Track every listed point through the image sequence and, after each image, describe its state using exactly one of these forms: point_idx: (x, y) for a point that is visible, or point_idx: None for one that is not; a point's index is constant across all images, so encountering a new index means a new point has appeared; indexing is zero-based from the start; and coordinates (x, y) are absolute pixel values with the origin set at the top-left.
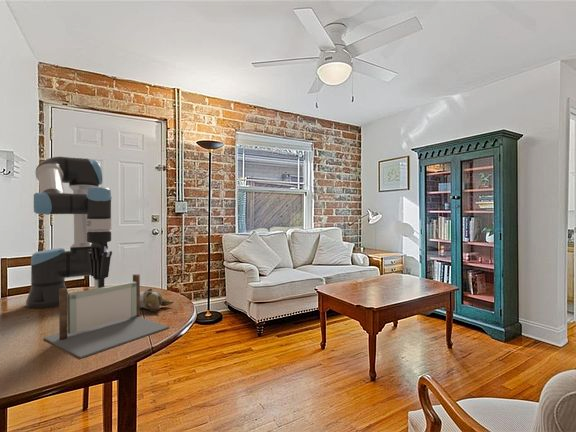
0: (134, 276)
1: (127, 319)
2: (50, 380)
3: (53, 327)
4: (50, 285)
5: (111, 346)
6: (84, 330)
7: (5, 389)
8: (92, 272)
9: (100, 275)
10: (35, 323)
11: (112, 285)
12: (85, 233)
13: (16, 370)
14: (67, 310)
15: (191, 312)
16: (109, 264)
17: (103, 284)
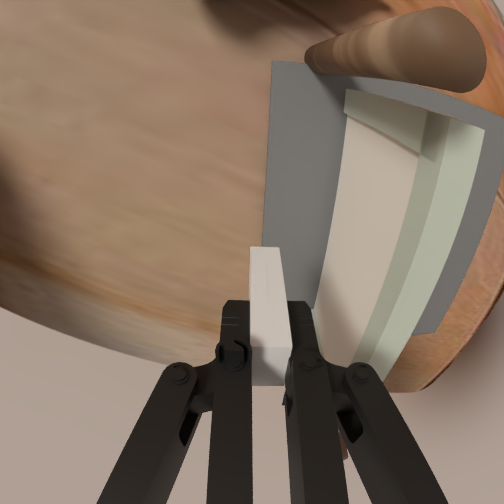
0: (458, 89)
1: (340, 119)
2: (439, 365)
3: (166, 295)
4: None
5: (460, 283)
6: (303, 272)
7: (403, 392)
8: (196, 424)
9: (345, 414)
10: (89, 302)
11: (399, 302)
12: None
13: None
14: None
15: None
16: (429, 469)
17: (311, 324)
